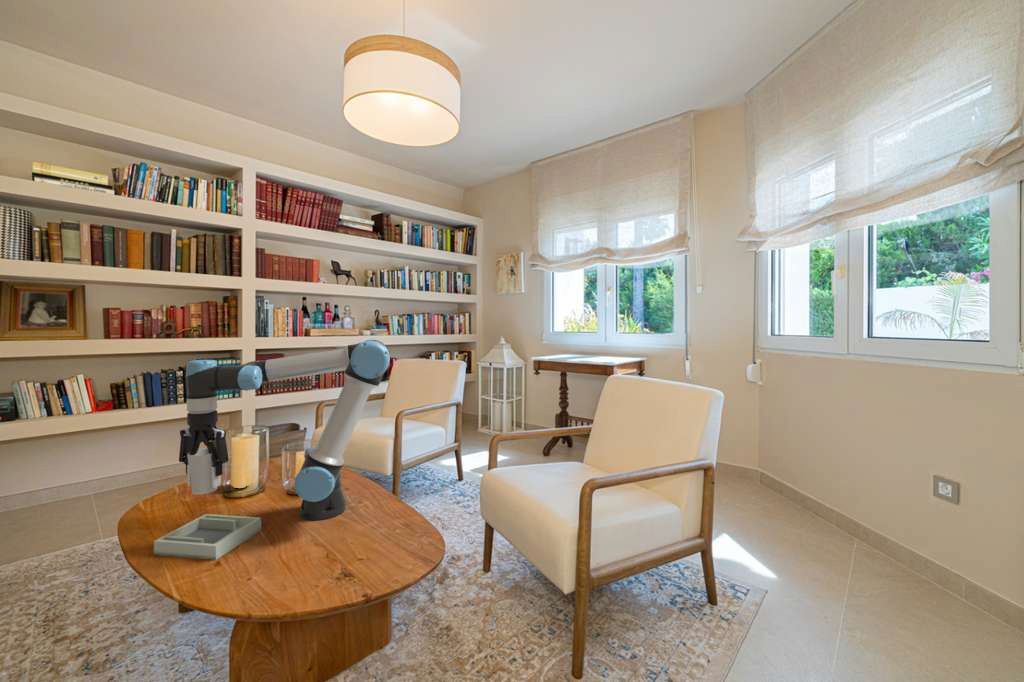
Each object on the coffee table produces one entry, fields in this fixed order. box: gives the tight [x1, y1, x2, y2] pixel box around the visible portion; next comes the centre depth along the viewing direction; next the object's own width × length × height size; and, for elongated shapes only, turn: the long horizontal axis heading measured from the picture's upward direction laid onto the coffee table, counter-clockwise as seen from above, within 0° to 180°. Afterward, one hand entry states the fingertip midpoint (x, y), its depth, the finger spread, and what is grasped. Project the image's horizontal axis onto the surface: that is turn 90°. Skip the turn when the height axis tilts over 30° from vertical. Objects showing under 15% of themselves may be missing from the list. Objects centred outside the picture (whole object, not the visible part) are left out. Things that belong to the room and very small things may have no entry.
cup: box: [187, 447, 218, 496], centre depth 132 cm, size 8×8×12 cm
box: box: [153, 513, 262, 561], centre depth 133 cm, size 20×18×4 cm
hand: (204, 485), depth 132 cm, fingers closed on cup, 7 cm apart
